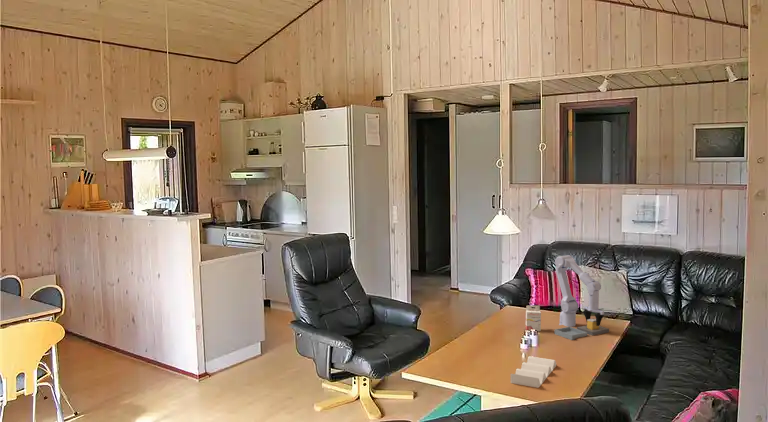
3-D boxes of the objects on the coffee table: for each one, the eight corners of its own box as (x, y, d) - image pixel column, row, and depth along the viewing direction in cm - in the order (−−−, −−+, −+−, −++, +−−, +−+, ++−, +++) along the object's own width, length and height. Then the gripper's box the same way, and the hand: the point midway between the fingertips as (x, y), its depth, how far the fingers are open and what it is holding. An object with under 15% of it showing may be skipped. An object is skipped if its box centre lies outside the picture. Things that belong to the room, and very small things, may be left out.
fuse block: (576, 331, 363) (576, 327, 363) (593, 328, 369) (593, 324, 369) (592, 336, 352) (592, 332, 352) (609, 333, 359) (609, 328, 358)
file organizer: (556, 366, 305) (556, 356, 304) (538, 389, 274) (538, 378, 274) (531, 362, 311) (531, 352, 311) (510, 384, 281) (510, 373, 280)
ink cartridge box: (526, 331, 366) (526, 307, 364) (525, 328, 370) (525, 305, 369) (540, 331, 365) (541, 307, 363) (539, 328, 370) (539, 305, 368)
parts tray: (554, 334, 358) (554, 329, 358) (569, 331, 364) (569, 326, 364) (572, 340, 346) (572, 335, 346) (587, 337, 352) (587, 332, 351)
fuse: (586, 331, 361) (587, 319, 361) (593, 329, 364) (593, 318, 363) (592, 332, 358) (592, 321, 357) (599, 331, 360) (599, 319, 360)
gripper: (579, 300, 364) (579, 322, 365) (598, 304, 351) (597, 327, 352) (587, 298, 367) (587, 320, 368) (606, 303, 354) (606, 326, 355)
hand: (593, 324), depth 360 cm, fingers open, 7 cm apart
